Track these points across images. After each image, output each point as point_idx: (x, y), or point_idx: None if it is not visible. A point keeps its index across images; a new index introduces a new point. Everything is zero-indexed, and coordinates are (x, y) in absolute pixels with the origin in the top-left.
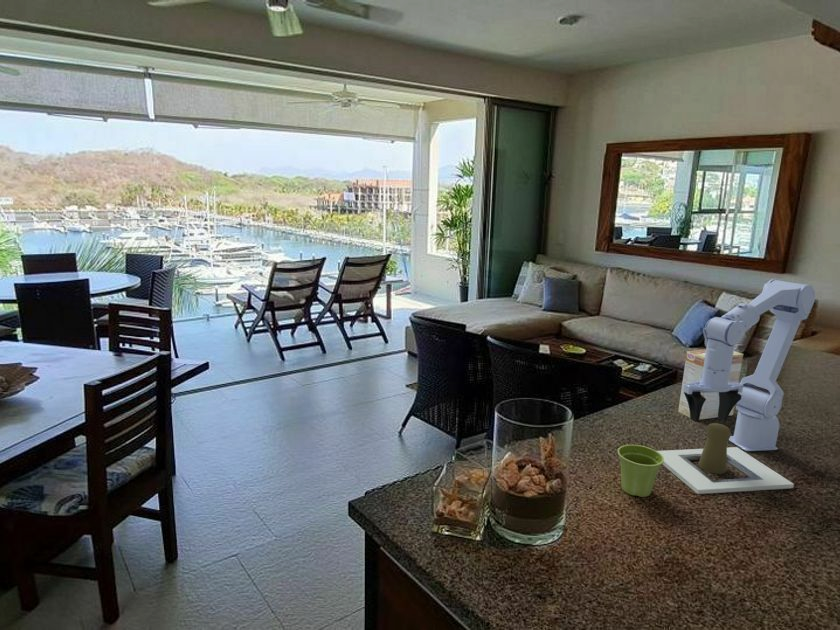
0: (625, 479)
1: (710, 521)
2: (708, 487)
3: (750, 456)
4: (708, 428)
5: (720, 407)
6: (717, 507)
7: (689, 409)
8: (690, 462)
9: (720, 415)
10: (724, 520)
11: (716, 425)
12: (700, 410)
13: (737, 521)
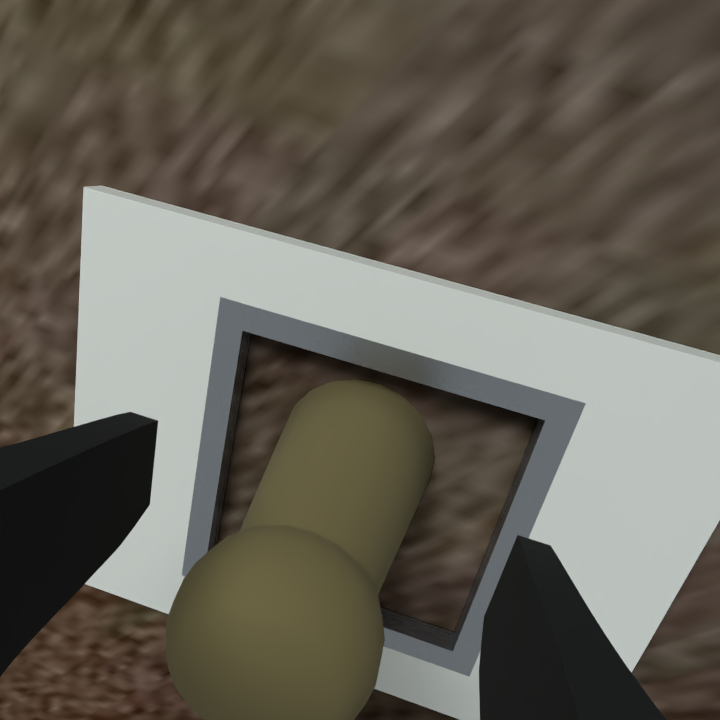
0: None
1: (11, 672)
2: (126, 588)
3: (714, 514)
4: (171, 611)
5: (540, 661)
6: (94, 645)
7: (21, 446)
8: (224, 399)
9: (509, 594)
10: (61, 691)
11: (216, 684)
12: (11, 649)
13: (101, 714)
